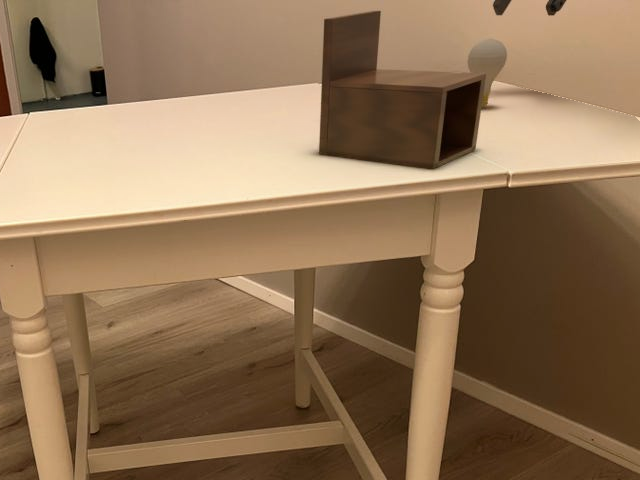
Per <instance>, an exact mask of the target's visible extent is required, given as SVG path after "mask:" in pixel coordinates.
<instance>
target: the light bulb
mask: <svg viewBox="0 0 640 480" xmlns="http://www.w3.org/2000/svg"><path fill="white" fill-rule="evenodd" d="M507 58H508V53H507V49H506V46H505V45H504V43H503V42H502V41H500V40H498V39H495V38H484V39H483V40H480V41H478V42H477V43H475V44H474V46H473V47H472V48H471V50H469V53H468V55H467V67H468V70H469V73H486V78H485V86H484V93H483V100H482V107H481V109H482V108H483V107H485V106H487V105H489V104H488V103H489V102H488V101H489V96H490V93H491V89H492V85H493V83H494V81H495V80H496V78H497V77H498V75H500V73H501V71H502V69H503V68H504V67H505V65H506V62H507Z"/></svg>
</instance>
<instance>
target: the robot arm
mask: <svg viewBox="0 0 640 480" xmlns="http://www.w3.org/2000/svg"><path fill="white" fill-rule="evenodd" d="M511 2H512V0H494V1H493V2H492V7H493V10H494V11H493V12H494V14H495V15H496V16H503V15H504V13H505V11H506V10H507V8H508V7H509V5H510V4H511ZM566 2H567V0H547V2H546V4H545V10H546V13H547V15H548V17H549V16H551V17H552V16H555V15H556V14H557V12H559V11H561V10H562V8H563V7H564V5H565V4H566Z"/></svg>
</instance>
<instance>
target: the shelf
mask: <svg viewBox="0 0 640 480" xmlns="http://www.w3.org/2000/svg"><path fill="white" fill-rule="evenodd" d="M381 16H382V11H381V10H369V11H364V12H363V11H362V12H358V13H352V14H346V15H340V16H334V17H327V18H324V19H323V37H322V38H323V39H322V41H323V42H322V63H321V65H322V66H321V68H322V69H321V88H320V89H321V94H320V117H319V118H320V120H319V140H318V141H319V144H318V154H319V155H323V156H324V155H325V156H331V157H338V158H345V159H354V160H362V161H368V162H369V161H370V162H376V163H384V164H385V163H386V164H390V165H391V164H392V165H399V166H405V167H406V166H407V167H414V168H423V169H430V170H435V169H437V168H439V167H442V166H443V165H445V164H447V163H450V162H453V161H454V160H457V159H459V158H461V157H463V156H465V155H467V154H469V153H471V152H475V150H476V148H477V143H478V142H477V141H478V134H479V129H480V128H479V127H480V122H481V121H480V120H481V113H482V108H483V107H482V100H483V93H484V86H485V78H486V73H470V72H462V71H459V72H458V71H435V70H434V71H433V70H432V71H431V70H407V69H381V68H380V69H379V68H378V56H379V44H380V43H379V42H380V30H381V29H380V28H381ZM481 107H482V108H481Z"/></svg>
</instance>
